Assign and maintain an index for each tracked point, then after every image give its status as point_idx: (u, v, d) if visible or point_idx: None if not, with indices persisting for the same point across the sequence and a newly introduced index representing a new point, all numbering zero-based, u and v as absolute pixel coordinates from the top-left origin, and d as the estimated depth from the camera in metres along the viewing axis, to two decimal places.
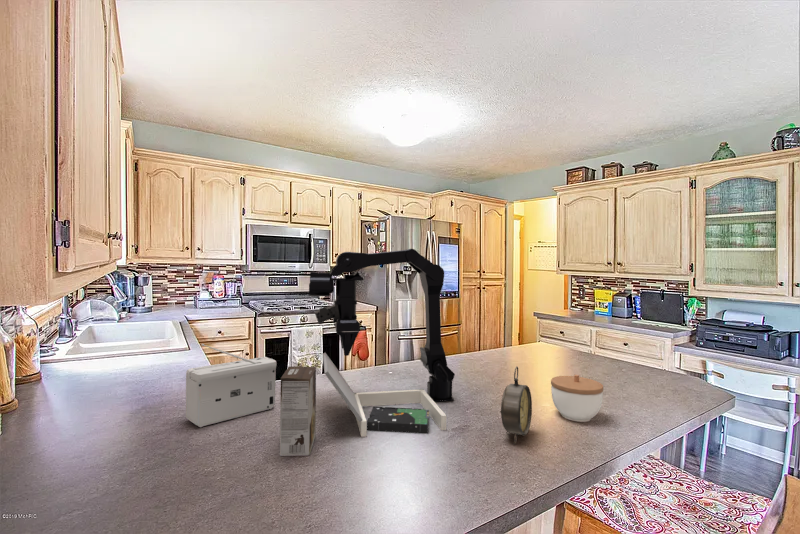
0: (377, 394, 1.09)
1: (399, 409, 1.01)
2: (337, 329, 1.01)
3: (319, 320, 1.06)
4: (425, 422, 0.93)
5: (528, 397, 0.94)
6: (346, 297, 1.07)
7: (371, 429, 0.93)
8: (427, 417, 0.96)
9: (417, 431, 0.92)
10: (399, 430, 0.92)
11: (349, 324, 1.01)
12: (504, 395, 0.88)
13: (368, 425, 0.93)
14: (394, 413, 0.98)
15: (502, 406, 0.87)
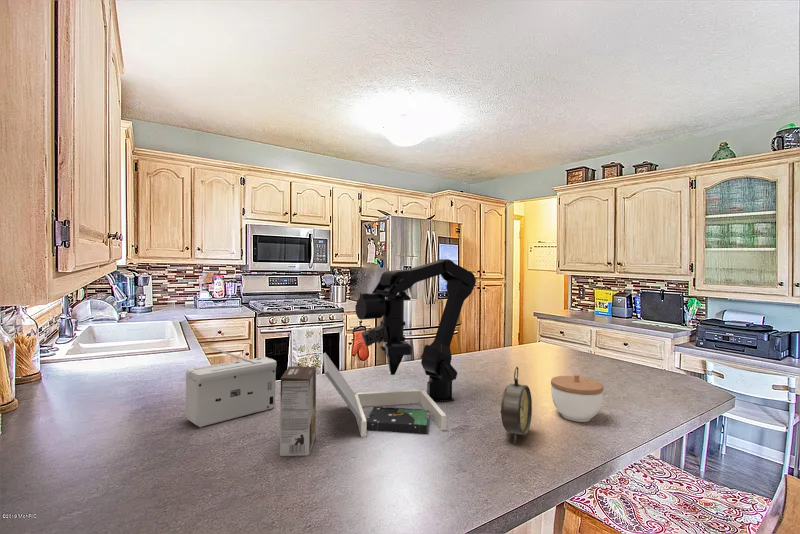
0: (377, 394, 1.09)
1: (399, 409, 1.01)
2: (389, 353, 0.97)
3: (367, 342, 1.03)
4: (425, 423, 0.92)
5: (528, 397, 0.94)
6: (395, 318, 1.04)
7: (370, 429, 0.93)
8: (427, 418, 0.95)
9: (416, 432, 0.91)
10: (398, 430, 0.92)
11: (401, 348, 0.97)
12: (504, 395, 0.88)
13: (367, 425, 0.93)
14: (394, 413, 0.98)
15: (502, 406, 0.87)
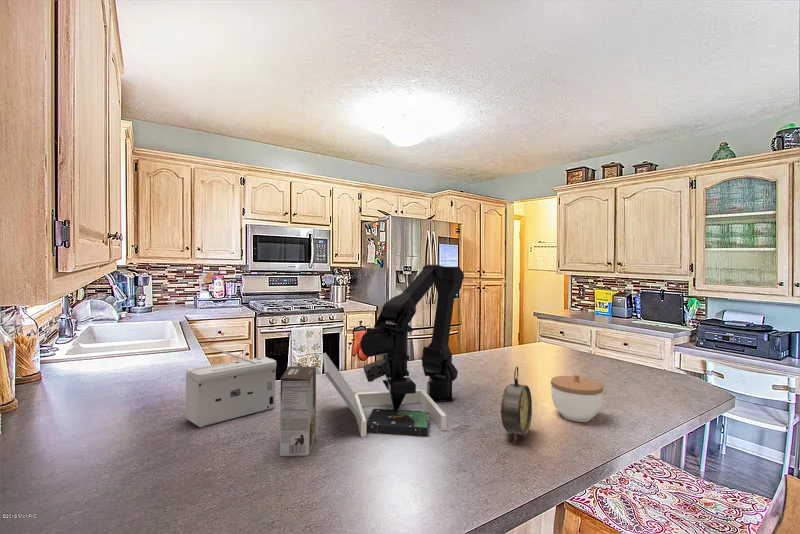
0: (377, 394, 1.09)
1: (399, 411, 0.99)
2: (392, 392, 0.92)
3: (369, 378, 0.98)
4: (425, 425, 0.91)
5: (528, 397, 0.94)
6: (398, 353, 0.99)
7: (370, 431, 0.91)
8: (427, 420, 0.94)
9: (416, 434, 0.90)
10: (398, 433, 0.90)
11: (404, 386, 0.92)
12: (504, 395, 0.88)
13: (367, 427, 0.91)
14: (394, 415, 0.97)
15: (502, 406, 0.87)
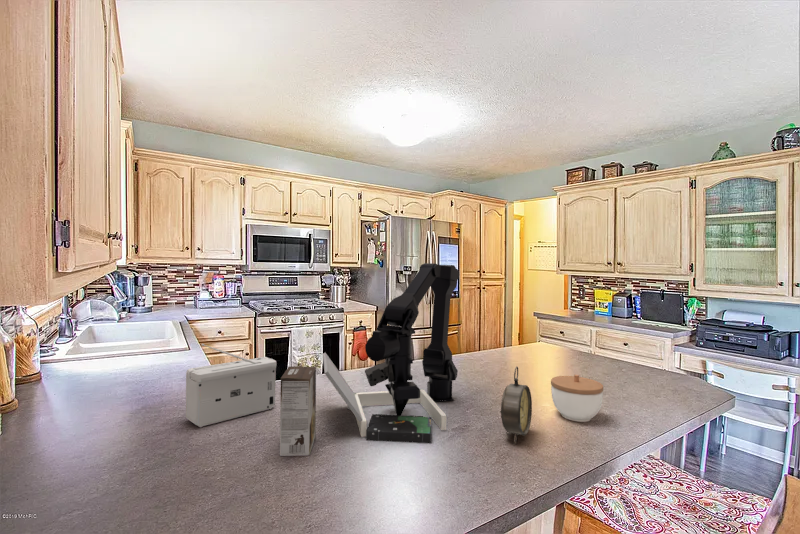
0: (377, 394, 1.09)
1: (400, 417, 0.96)
2: (395, 397, 0.88)
3: (371, 382, 0.94)
4: (428, 431, 0.88)
5: (528, 397, 0.94)
6: (401, 356, 0.95)
7: (371, 439, 0.87)
8: (429, 425, 0.91)
9: (419, 441, 0.87)
10: (400, 440, 0.87)
11: (408, 391, 0.89)
12: (504, 395, 0.88)
13: (367, 434, 0.87)
14: (394, 421, 0.93)
15: (502, 406, 0.87)
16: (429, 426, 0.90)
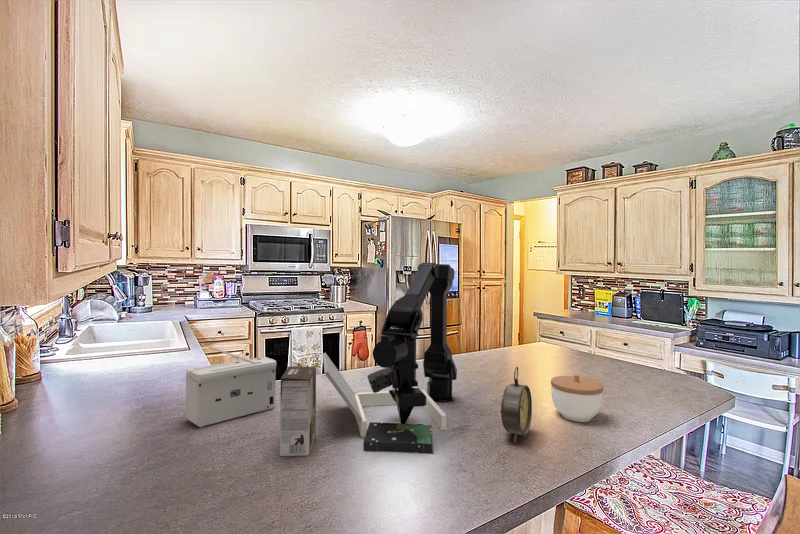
0: (377, 394, 1.09)
1: (399, 425, 0.91)
2: (400, 404, 0.83)
3: (374, 389, 0.89)
4: (429, 441, 0.83)
5: (528, 397, 0.94)
6: (406, 361, 0.90)
7: (368, 449, 0.82)
8: (430, 434, 0.86)
9: (420, 451, 0.82)
10: (400, 450, 0.82)
11: (414, 398, 0.84)
12: (504, 395, 0.88)
13: (365, 445, 0.82)
14: (393, 430, 0.88)
15: (502, 406, 0.87)
16: (430, 435, 0.86)
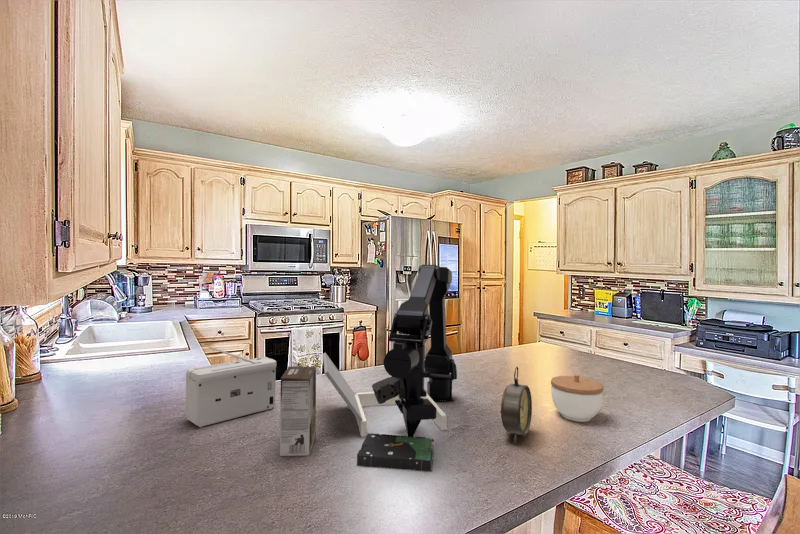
0: None
1: (398, 437, 0.84)
2: (408, 417, 0.76)
3: (380, 399, 0.82)
4: (428, 457, 0.76)
5: (528, 397, 0.94)
6: (414, 369, 0.83)
7: (362, 464, 0.76)
8: (431, 450, 0.79)
9: (418, 468, 0.75)
10: (396, 466, 0.75)
11: (423, 410, 0.77)
12: (504, 395, 0.88)
13: (358, 459, 0.76)
14: (391, 443, 0.81)
15: (502, 406, 0.87)
16: (430, 451, 0.78)
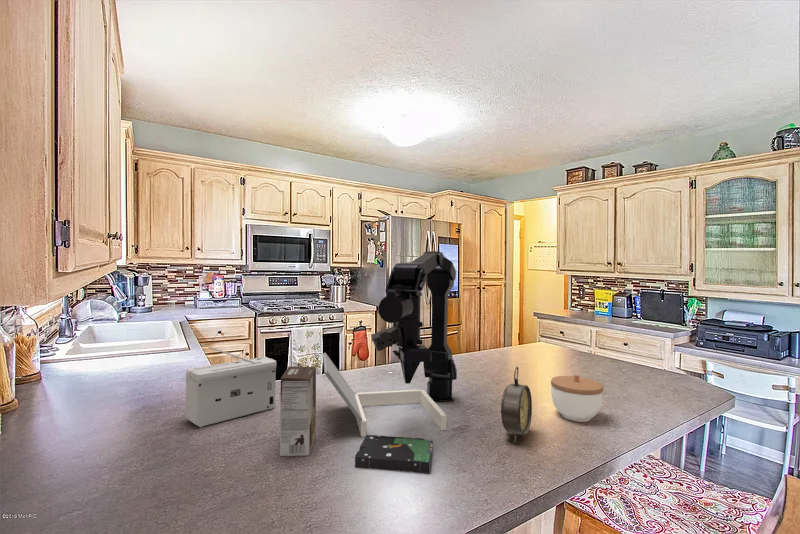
0: (377, 394, 1.09)
1: (397, 439, 0.84)
2: (405, 360, 0.82)
3: (379, 347, 0.88)
4: (427, 459, 0.75)
5: (528, 397, 0.94)
6: (410, 318, 0.89)
7: (360, 466, 0.76)
8: (430, 451, 0.78)
9: (416, 470, 0.74)
10: (394, 468, 0.75)
11: (419, 353, 0.83)
12: (504, 395, 0.88)
13: (356, 461, 0.76)
14: (390, 445, 0.81)
15: (502, 406, 0.87)
16: (429, 452, 0.78)
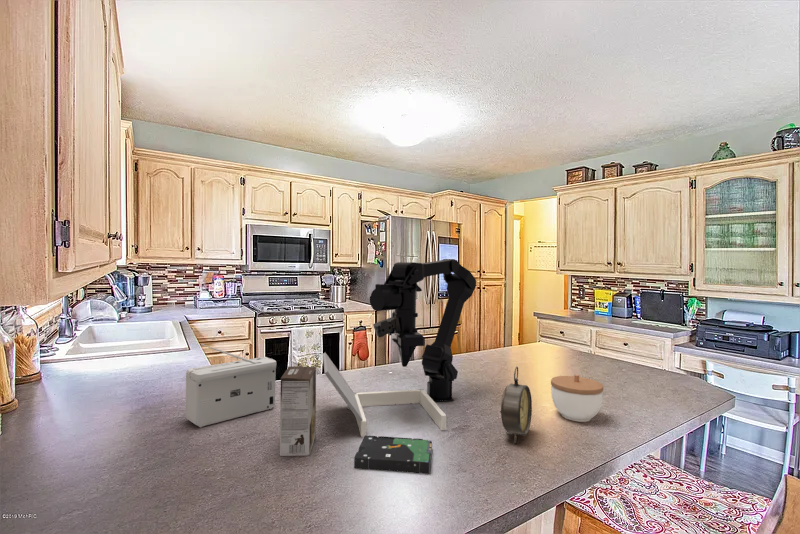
0: (377, 394, 1.09)
1: (396, 439, 0.83)
2: (402, 344, 0.96)
3: (379, 334, 1.02)
4: (426, 459, 0.75)
5: (528, 397, 0.94)
6: (407, 309, 1.03)
7: (359, 467, 0.75)
8: (429, 451, 0.78)
9: (416, 470, 0.74)
10: (394, 469, 0.74)
11: (414, 339, 0.96)
12: (504, 395, 0.88)
13: (356, 462, 0.75)
14: (389, 445, 0.81)
15: (502, 406, 0.87)
16: (428, 452, 0.78)
